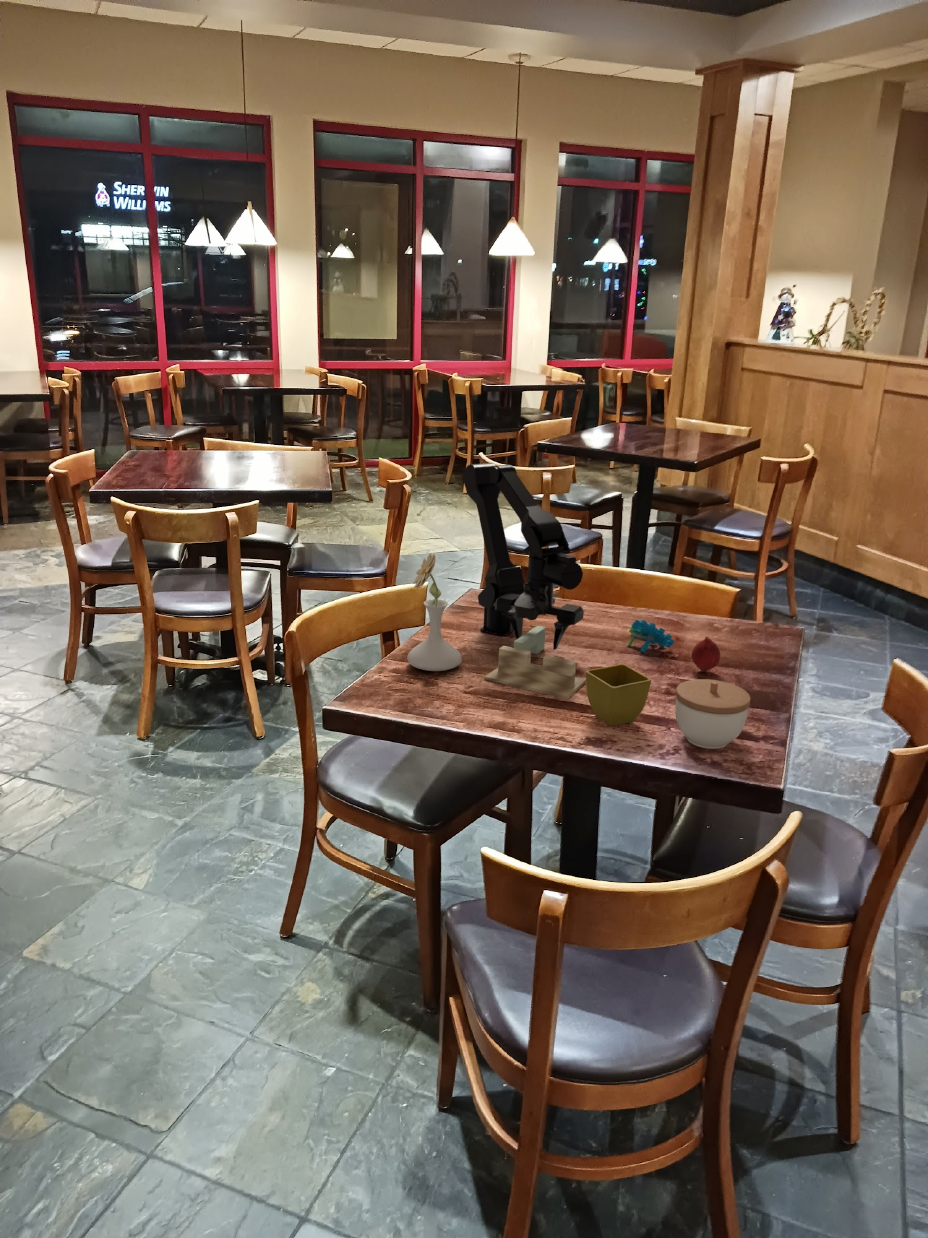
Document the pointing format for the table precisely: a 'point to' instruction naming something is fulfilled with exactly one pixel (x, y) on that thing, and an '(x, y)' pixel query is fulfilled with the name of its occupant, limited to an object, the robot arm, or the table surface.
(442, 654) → the flower in vase
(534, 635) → the sage board
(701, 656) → the onion
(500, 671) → the maple jig
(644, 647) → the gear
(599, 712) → the flower pot
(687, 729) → the lidded bowl
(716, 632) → the table surface
